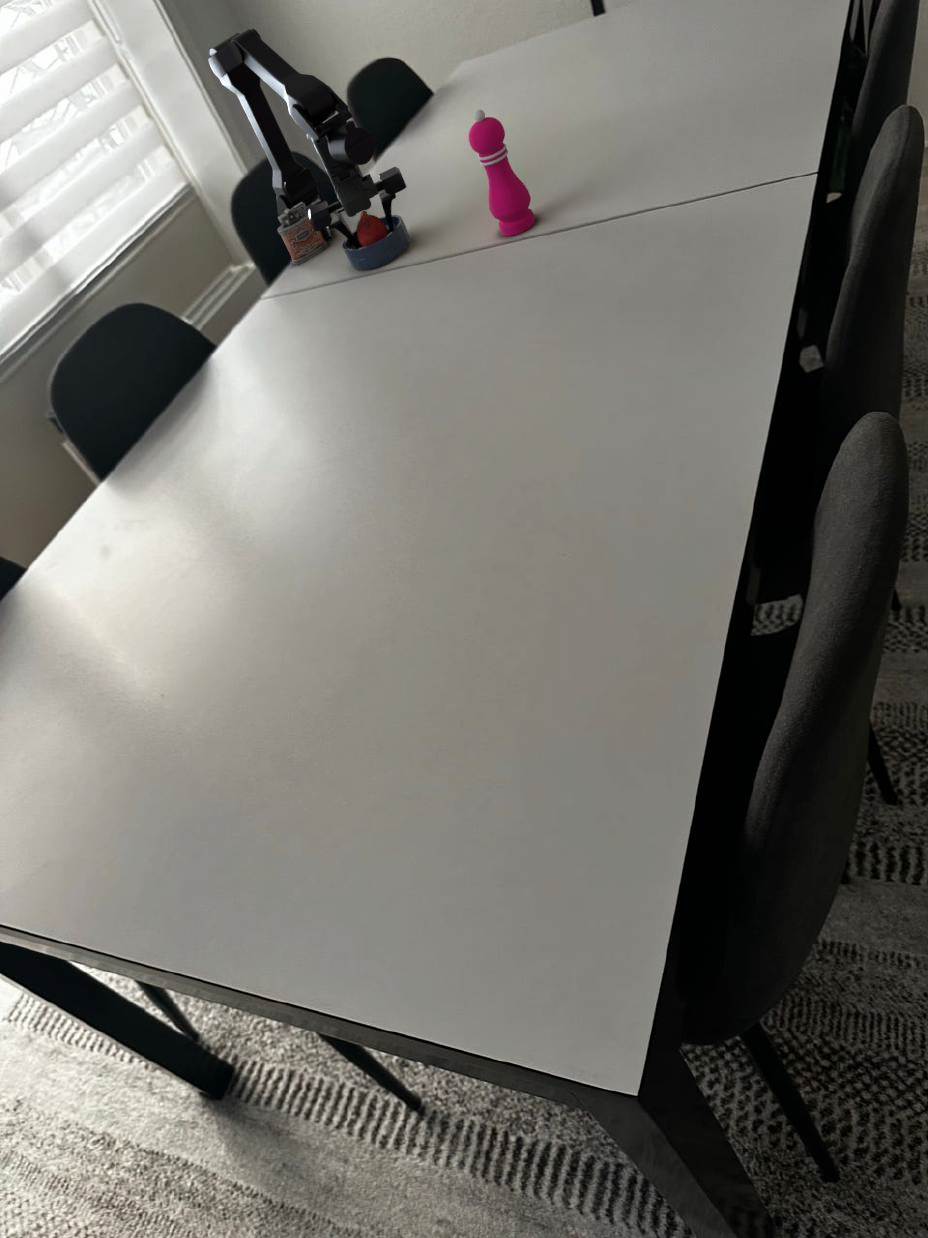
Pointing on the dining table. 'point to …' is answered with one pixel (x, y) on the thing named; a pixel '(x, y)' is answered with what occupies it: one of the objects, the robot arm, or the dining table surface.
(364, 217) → the onion
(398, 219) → the bowl
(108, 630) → the dining table surface
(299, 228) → the lighter
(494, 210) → the pepper mill
